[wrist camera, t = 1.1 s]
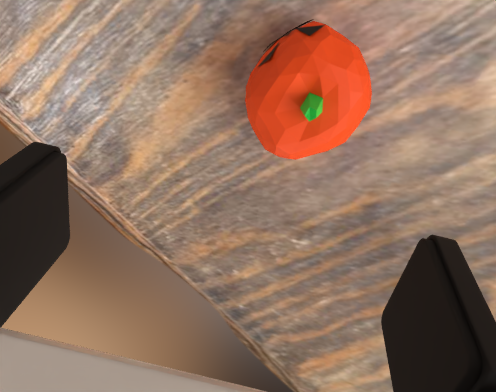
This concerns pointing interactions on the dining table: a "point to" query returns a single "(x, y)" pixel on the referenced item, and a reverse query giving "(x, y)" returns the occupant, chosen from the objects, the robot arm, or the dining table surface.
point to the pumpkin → (308, 92)
